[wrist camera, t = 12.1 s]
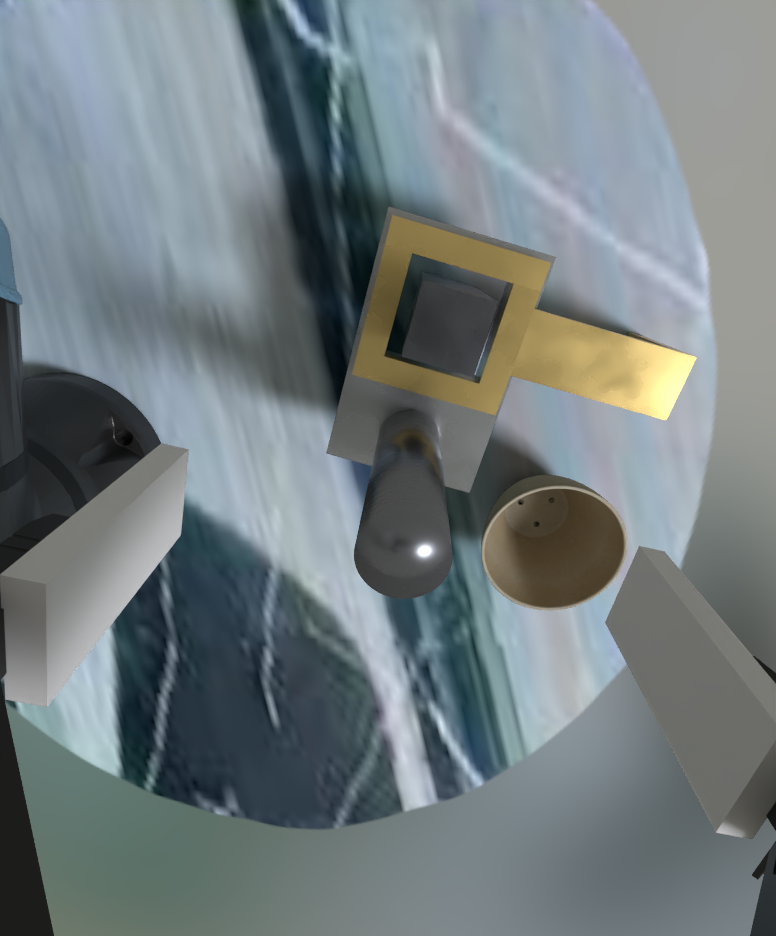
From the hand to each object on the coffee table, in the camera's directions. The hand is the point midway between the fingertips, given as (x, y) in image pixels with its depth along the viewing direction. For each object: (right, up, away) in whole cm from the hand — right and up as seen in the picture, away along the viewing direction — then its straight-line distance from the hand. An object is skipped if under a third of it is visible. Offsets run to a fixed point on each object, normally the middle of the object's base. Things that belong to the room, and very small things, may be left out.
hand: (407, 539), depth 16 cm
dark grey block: (+3, +14, +24) cm, 28 cm away
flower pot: (+11, -1, +30) cm, 32 cm away
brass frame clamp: (+7, +9, +26) cm, 28 cm away
